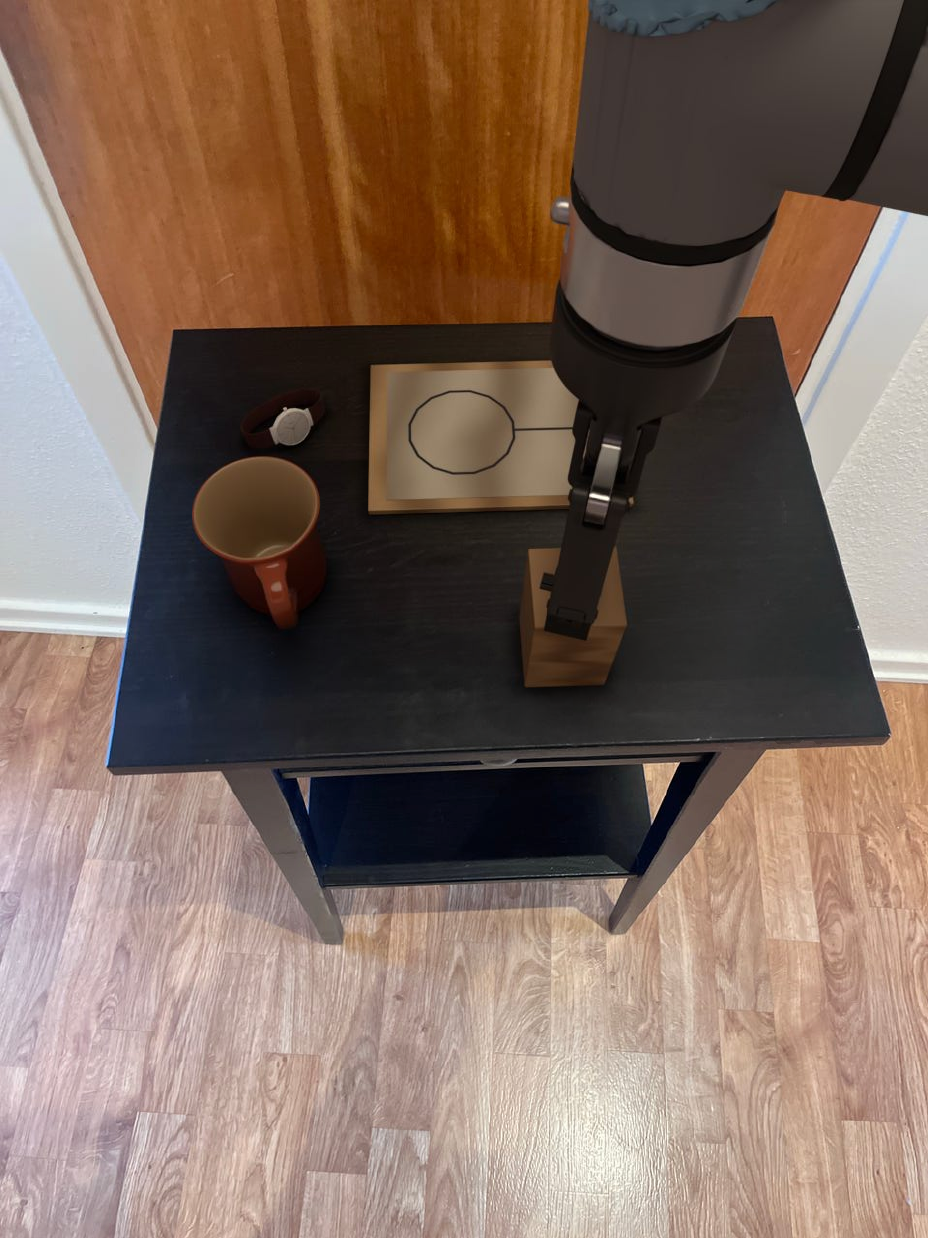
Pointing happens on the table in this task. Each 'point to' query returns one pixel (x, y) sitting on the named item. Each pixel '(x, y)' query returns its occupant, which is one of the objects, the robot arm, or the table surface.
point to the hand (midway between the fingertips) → (579, 572)
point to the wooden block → (560, 655)
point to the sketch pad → (469, 437)
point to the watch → (284, 418)
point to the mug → (265, 534)
